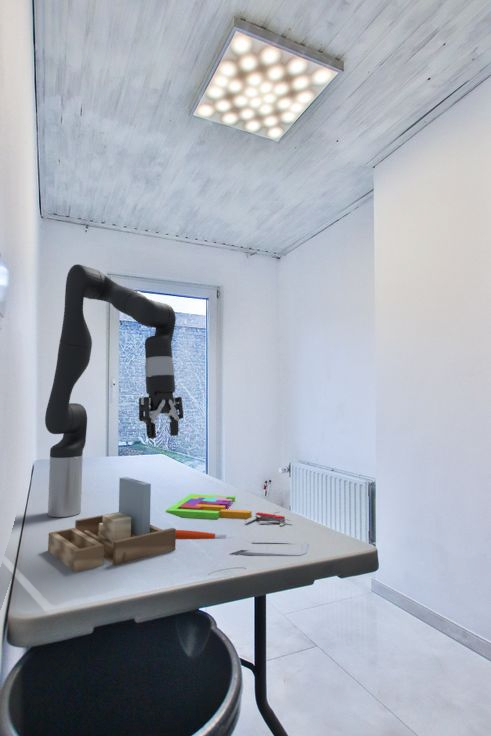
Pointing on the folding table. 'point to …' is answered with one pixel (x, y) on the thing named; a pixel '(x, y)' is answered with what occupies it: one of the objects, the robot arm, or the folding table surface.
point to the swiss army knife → (269, 518)
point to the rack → (129, 542)
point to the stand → (76, 549)
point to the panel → (135, 504)
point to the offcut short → (116, 521)
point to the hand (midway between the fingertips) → (163, 436)
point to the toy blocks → (207, 507)
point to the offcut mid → (114, 533)
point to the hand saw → (204, 535)
